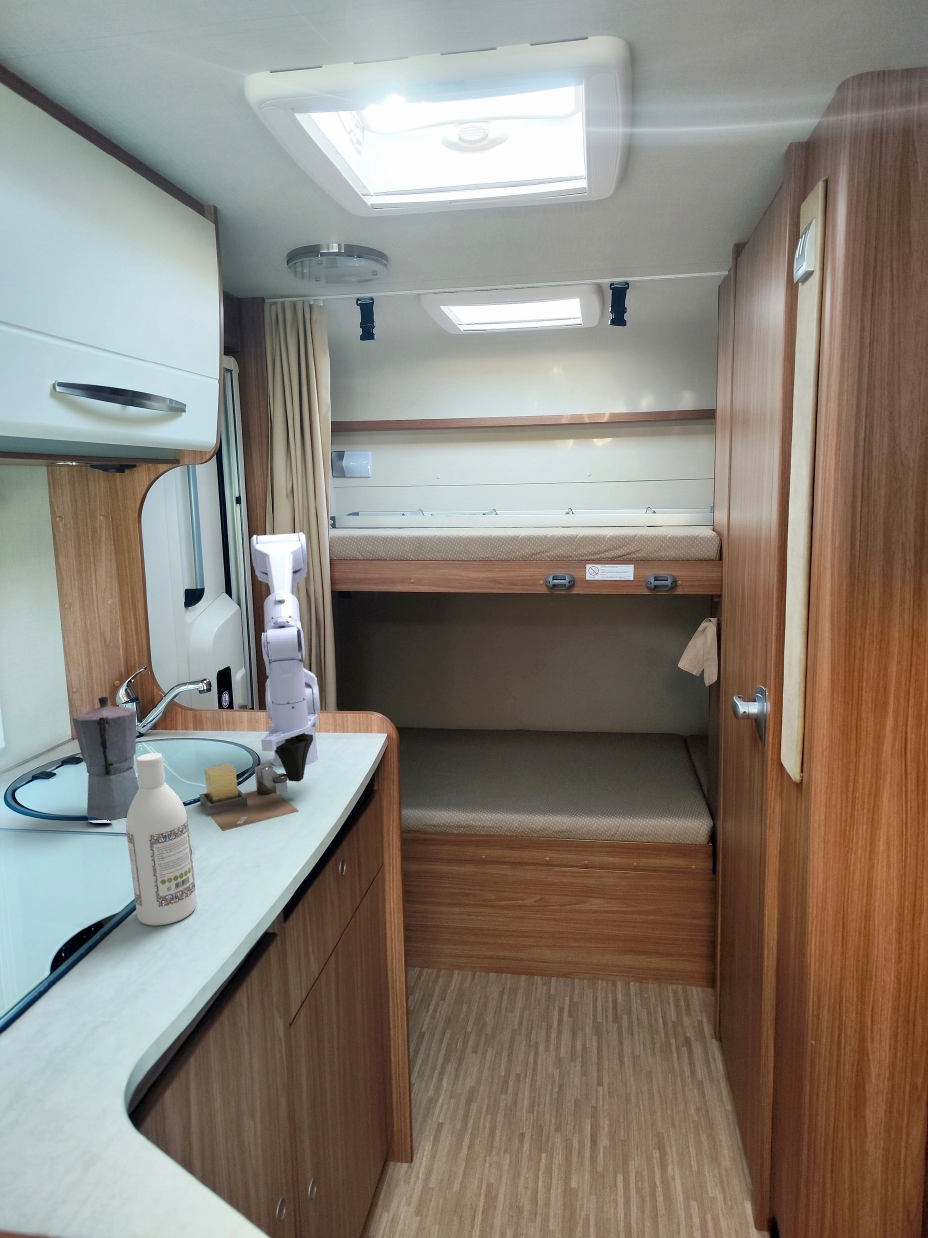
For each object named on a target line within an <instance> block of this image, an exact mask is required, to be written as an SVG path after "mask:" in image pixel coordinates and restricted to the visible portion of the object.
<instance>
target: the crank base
mask: <svg viewBox="0 0 928 1238" xmlns="http://www.w3.org/2000/svg"><path fill="white" fill-rule="evenodd" d="M237 789H238V798H236V799H232V800H228V801H224V802H219V803H215V804H211V803H210V802H209V801H208V797H207V792H205V793H200V794H199V803H200V806H201V807H202V808H203V809H204V810H205V811H206V813H207V814H208V815H209V817H211V819H212V820H213V821H214V822H215V823H216V825H217V826H218V828H220V829H221V831H223V832H225V831H229V830H232V829H236V828H240V827H243V826H247V825H252V824H256V823H260V822H263V821H268V820H270V819H274V818H278V817H281V816H286V815H290V814H294V813H298V812H299V809H298V808H296V807H295V806H294V805H293V804H292V803H290V802H289V801H288V800H287V799H285V798H284V797H283V796H282V794H278V795H276V794H275V793H274V792H273V793H271V794H266V795H259V794H257V789H256V790H253V791H252V790H251V791H249V792H244V793H243V792H242V791H241V790H240V789H239V788H238V787H237Z"/></svg>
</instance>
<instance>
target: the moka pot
mask: <svg viewBox="0 0 928 1238" xmlns="http://www.w3.org/2000/svg"><path fill="white" fill-rule="evenodd" d="M97 701H98V703H99V707H96V708H93V709H90V710H88V711H87V710H86V711H84V712H82V713H80V714H77V715H75V716H73V717H72V719H71V720H72V724H73V727H74V732H75V735H76V738H77V741H78V747H79V750H80V755H81V758H82V761H83V762H84V763H85V767H86V773H87V774H88V776H87V777H88V778H87V802H86V805H87V807H86V808H87V809H86V817H87V816H91V817H95V818H98V819H102V820H103V819H104V820H107V821H108V820H109V821H111V822H112V821H118V820H120V819H125V818H127V814H128V810H129V808H130V805H131V803H132V801H133V799H134V797H135V795H136V793H137V791H138V790H139V788H140V785H139V780H138V777H137V775H136V771H135V767H134V766H135V759H134V756H135V755H136V753H137V752H136V751H137V748H136V747H137V710H136V709H135V708H134V709H133V708H131V707H127V706H126V707H125V706H110V705H108V704H109V703H108V702H109V697H107V696H101V697H98V699H97Z"/></svg>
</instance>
